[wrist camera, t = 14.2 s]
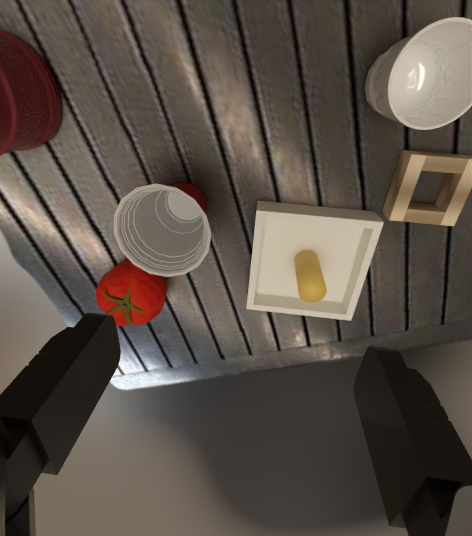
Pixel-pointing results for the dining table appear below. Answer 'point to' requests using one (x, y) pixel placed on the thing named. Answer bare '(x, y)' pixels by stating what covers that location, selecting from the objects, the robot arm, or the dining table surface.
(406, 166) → the socket block
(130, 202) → the plastic cup
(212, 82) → the dining table surface
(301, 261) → the dowel
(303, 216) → the tray
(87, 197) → the dining table surface
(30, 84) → the canister
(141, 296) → the tomato
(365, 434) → the robot arm
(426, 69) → the white cup
